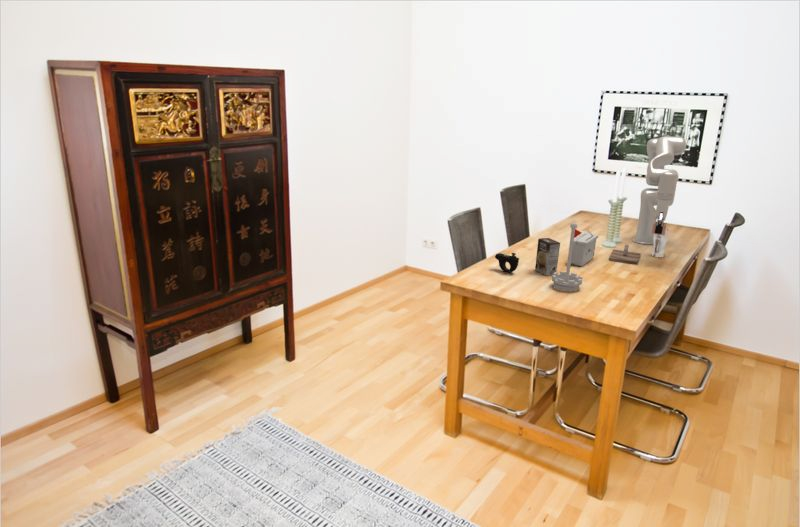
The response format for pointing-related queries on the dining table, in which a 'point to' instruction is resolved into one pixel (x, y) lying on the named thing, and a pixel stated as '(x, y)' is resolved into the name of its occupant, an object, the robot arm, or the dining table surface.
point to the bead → (662, 229)
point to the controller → (507, 258)
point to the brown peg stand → (625, 256)
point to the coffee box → (547, 256)
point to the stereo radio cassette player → (583, 248)
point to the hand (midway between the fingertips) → (658, 231)
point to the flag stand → (568, 269)
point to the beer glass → (659, 244)
